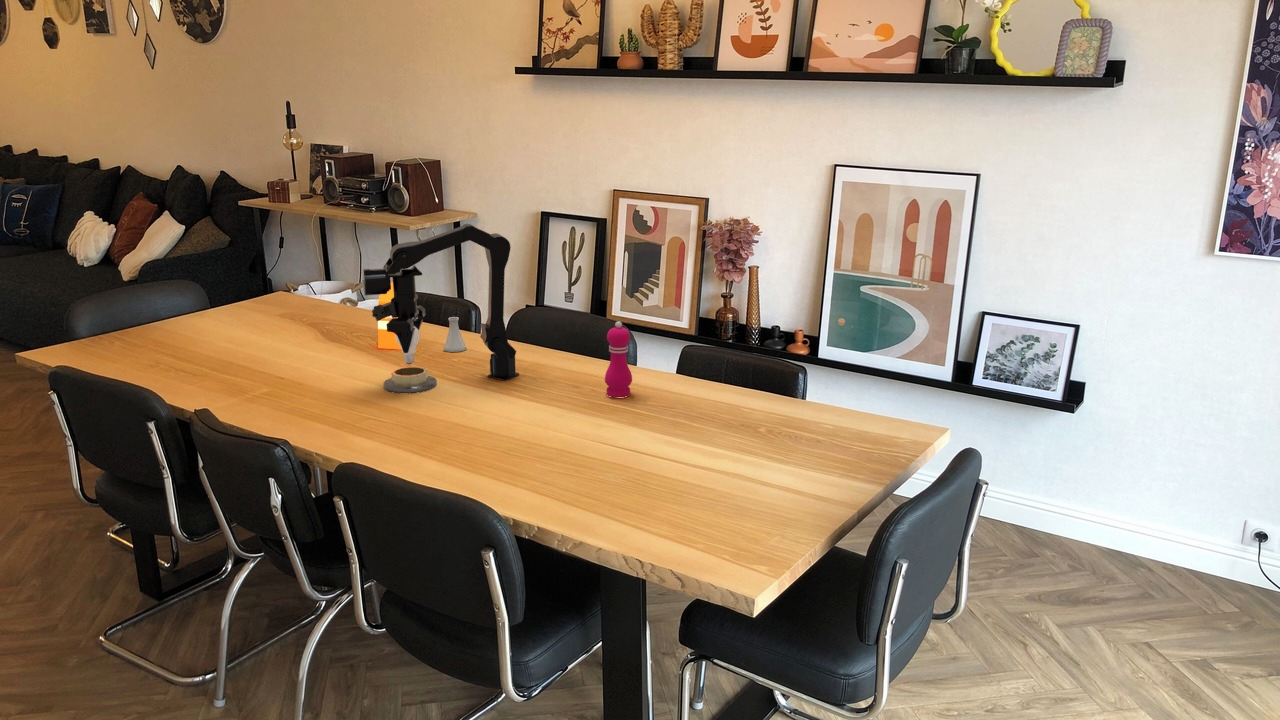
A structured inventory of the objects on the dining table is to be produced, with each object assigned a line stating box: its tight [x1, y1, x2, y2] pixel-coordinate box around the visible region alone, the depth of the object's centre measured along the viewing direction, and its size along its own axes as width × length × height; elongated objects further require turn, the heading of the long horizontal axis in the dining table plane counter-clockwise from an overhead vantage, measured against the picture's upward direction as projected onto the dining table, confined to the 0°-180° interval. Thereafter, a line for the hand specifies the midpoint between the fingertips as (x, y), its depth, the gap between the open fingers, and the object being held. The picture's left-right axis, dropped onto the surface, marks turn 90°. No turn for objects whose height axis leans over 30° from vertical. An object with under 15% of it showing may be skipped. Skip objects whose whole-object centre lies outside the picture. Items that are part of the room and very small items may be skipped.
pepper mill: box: [604, 321, 633, 398], centre depth 245 cm, size 7×7×20 cm
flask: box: [443, 316, 467, 353], centre depth 287 cm, size 7×7×10 cm
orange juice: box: [377, 281, 402, 351], centre depth 289 cm, size 8×9×20 cm
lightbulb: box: [395, 326, 421, 365], centre depth 250 cm, size 6×6×11 cm
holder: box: [383, 365, 438, 395], centre depth 253 cm, size 14×14×4 cm
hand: (408, 349), depth 251 cm, fingers closed on lightbulb, 6 cm apart
